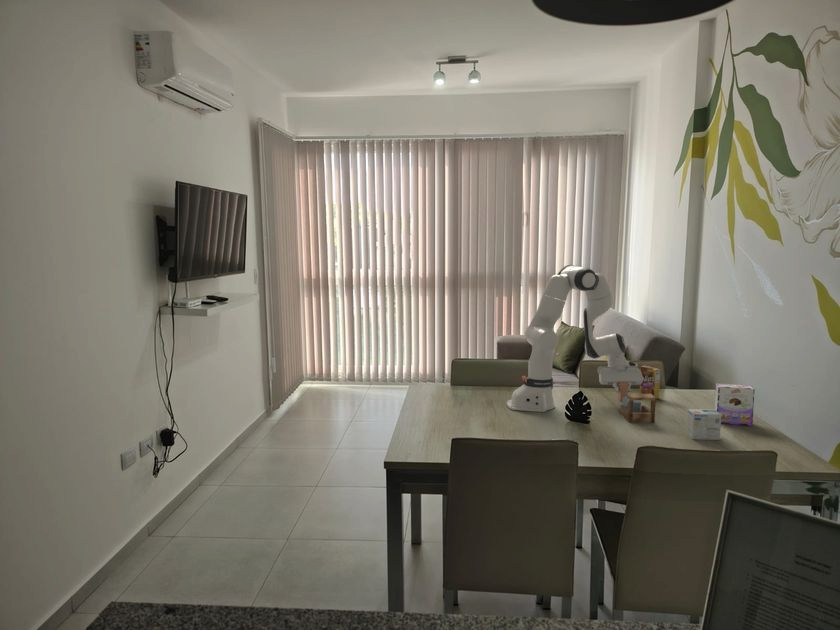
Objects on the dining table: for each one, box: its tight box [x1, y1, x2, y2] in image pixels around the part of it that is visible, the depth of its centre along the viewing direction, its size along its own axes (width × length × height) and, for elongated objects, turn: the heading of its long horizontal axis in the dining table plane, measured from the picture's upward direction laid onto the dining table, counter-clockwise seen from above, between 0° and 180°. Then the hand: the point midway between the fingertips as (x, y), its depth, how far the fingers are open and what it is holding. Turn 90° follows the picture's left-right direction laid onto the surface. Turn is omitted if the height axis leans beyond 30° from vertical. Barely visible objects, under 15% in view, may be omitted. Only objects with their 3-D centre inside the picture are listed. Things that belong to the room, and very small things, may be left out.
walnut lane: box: [619, 393, 657, 424], centre depth 239 cm, size 11×12×11 cm
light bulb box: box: [686, 408, 722, 441], centre depth 215 cm, size 11×7×11 cm, turn 84°
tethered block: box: [617, 382, 642, 413], centre depth 251 cm, size 6×17×9 cm, turn 177°
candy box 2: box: [714, 383, 756, 427], centre depth 232 cm, size 14×6×16 cm, turn 71°
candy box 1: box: [639, 365, 661, 400], centre depth 271 cm, size 9×4×15 cm, turn 28°
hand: (623, 391), depth 257 cm, fingers closed on tethered block, 3 cm apart
